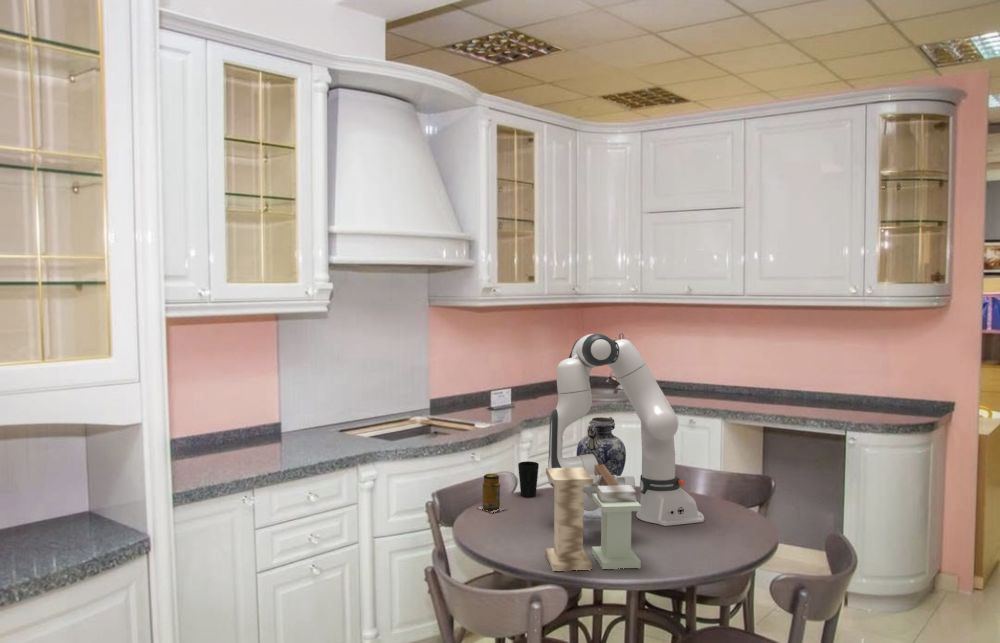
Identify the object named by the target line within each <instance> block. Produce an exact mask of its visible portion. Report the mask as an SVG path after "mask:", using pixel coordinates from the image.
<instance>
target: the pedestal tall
mask: <svg viewBox="0 0 1000 643" xmlns="http://www.w3.org/2000/svg"><path fill="white" fill-rule="evenodd" d="M545 474H546V477H547V476H548V477H549V479H550V480H551V482H552V483H553V485H554V487H553V488H554V489H553V492H554V494H553V496H554V498H553V499H554V501H553V502H554V504H553V506H554V509H553V513H554V515H553V516H554V517H553V518H554V519H553V520H554V521H553V524H554V525H553V526H554V527H553V547H548V548H545V557H546V559H548V560H547V562H548V561H549V562H548V564H549V563H550V564H549V567H550V569H551V570H552V572H553V571H564V572H573V571H572V570H576V571H575V572H578V571H577V570H589V571H592V570H593V563H592V561H591V560H590V558H589V555H588V554H587V553H586V551H585V549H584V510H583V485H588V484H593V478H592V477H591V476H590V475H589V474H588V473H587V472H586V470H585V469H584V468H583V467H577V468H548V467H547V468H545ZM548 477H547V478H548ZM591 569H592V570H591ZM570 570H571V571H570Z"/></svg>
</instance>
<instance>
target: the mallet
mask: <svg viewBox="0 0 1000 643" xmlns="http://www.w3.org/2000/svg"><path fill="white" fill-rule="evenodd" d="M594 474H595V476H597V475H602V482H600V483H601V485H602V486H597V497H598V498H599V500H600V501H601V503H602V502H632V501H635V500H636V501H637V498H636V497H637V495H636V494H637V493H636V492H637V490H636V489H635V488H633V487H632V486H631V485H619V484H618V483H617V482H616V480H615V479H614V478H613V476H612V475H611V473H610V472H609V471H608V469H607V468H606V467H605V465H595V467H594Z"/></svg>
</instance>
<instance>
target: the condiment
mask: <svg viewBox="0 0 1000 643" xmlns="http://www.w3.org/2000/svg"><path fill="white" fill-rule="evenodd" d="M499 478H500V476H499V474H497V473H485V474H484V475H483V482H482V506H478V507H477V509H479V510H481V511H484V512H487V513H491V514H496V513H495V512H494V513H493V512H491V511H493V510H497V509H499V507H501V506H500V505H501V503H500V501H501V500H500V498H501V496H500V495H501V492H500V491H501V490H500V489H501V483H500V479H499ZM481 507H483V509H484V510H482V508H481ZM486 510H488V511H486ZM499 510H500V509H499Z"/></svg>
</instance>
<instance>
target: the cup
mask: <svg viewBox="0 0 1000 643" xmlns="http://www.w3.org/2000/svg"><path fill="white" fill-rule="evenodd" d="M517 467H518V476H519V490H520V491H519V492H520V497H522V498H527V499H529V498H532V499H533V498H535V497H536V495H537V489H538V487H537V486H538V485H537V484H538V478H539V477H538V476H539V468H540V465H539V463H538V462H536V461H519V463H518V465H517Z"/></svg>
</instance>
